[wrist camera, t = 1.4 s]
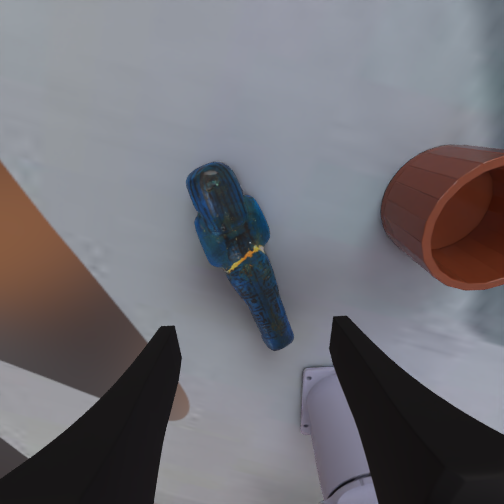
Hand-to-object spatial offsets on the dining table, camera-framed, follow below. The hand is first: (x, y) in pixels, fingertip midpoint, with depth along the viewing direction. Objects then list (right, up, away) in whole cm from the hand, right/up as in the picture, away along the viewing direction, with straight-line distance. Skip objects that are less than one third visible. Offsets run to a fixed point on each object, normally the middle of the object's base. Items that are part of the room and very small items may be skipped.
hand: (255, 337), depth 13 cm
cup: (+13, +7, +7) cm, 17 cm away
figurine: (0, +4, +9) cm, 10 cm away
